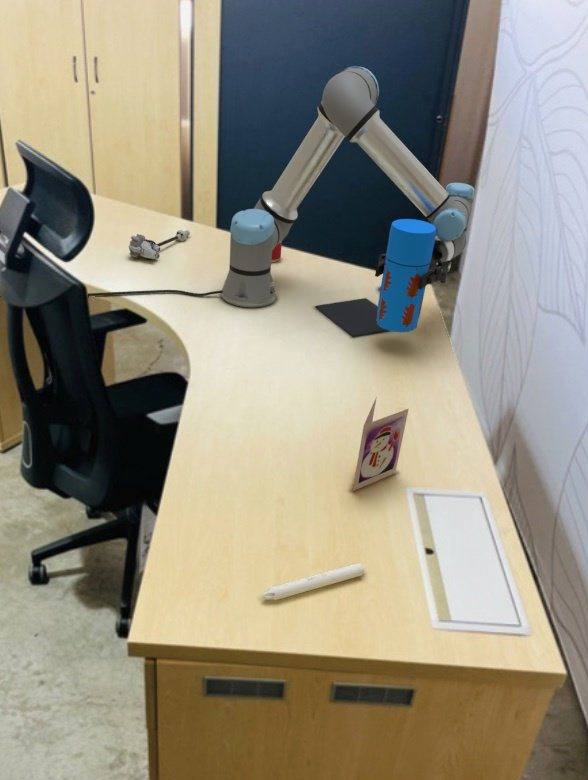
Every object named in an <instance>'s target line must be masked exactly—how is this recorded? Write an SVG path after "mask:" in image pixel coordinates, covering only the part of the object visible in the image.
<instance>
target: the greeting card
mask: <svg viewBox="0 0 588 780" xmlns="http://www.w3.org/2000/svg"><path fill="white" fill-rule="evenodd" d="M377 398H378V397H377V395H376V396H375V398H374V401H373V403H372V405H371V408H370V409H369V412H368V414H367V416H366V419H365V421H364V424H363V428H362V434H361V439H360V445H359V450H358V458H357V463H356V467H355V475H354V480H353V485H352V486H353V487H352V492H354V491H356V490H357V491H358V490H359V489H361V488H363V487H366V486H368V485H370V484H373V483H376V482H378V481H381V480H383V479H384V478H387V477H389V476H392V475H394V474H396V472H397V468H398V463H399V457H400V452H401V448H402V443H403V437H404V433H405V429H406V425H407V420H408V415H409V408H406V409H402V410H400V411H398V412H395V413H392V414H389V415H386V416H384V417H382V418H379V419H376V420H374V415H375V409H376V403H377Z"/></svg>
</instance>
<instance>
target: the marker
mask: <svg viewBox="0 0 588 780" xmlns="http://www.w3.org/2000/svg"><path fill="white" fill-rule="evenodd" d="M364 571H365V570H364V567H363V565H362V563H359V562H358V563H354V564H351V565H347V566H343V567H339V568H336V569H332V570H329V571H325V572H321V573H319V574H315V575H311V576H307V577H304V578H300V579H297V580H293V581H289V582H286V583H282V584H278V585H275V586H272V587H270V588H268V589H267V590H266V591H265V592H264V593H263V594H262V599H265V600H268V601H277V600H281V599H284V598H288V597H291V596H294V595H295V596H296V595H298V594H301V593H305V592H309V591H312V590H316V589H319V588H322V587H326V586H330V585H333V584H337V583H341V582H343V581H347V580H351V579H354V578H358V577H360V576H363V575H364Z"/></svg>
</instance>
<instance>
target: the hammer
mask: <svg viewBox="0 0 588 780" xmlns="http://www.w3.org/2000/svg"><path fill="white" fill-rule="evenodd" d="M190 235H191V231H190V230H188V229H186V230H185V231H184V230H182V229H181V230H177V231H176V233H175V236H173V237H170V238H168V239H166V240H163V241H161V242H159V243H156V241H154V240H153V239H152V240H151V239H146V236H145V235H144V234H139V233H136V235H131V237H130V239H131V240H130V241H129V245H128V250H129V253H128V254H129V255H130V256H132V257H133V258H135V259H137V258H139V257H142V258H145V259H147V260H158V259H160V251H161V247H163V246H164V245H167V244H170V243H172V242H174V241H179V242H184V241H185V240H187V237H189V236H190Z"/></svg>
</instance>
